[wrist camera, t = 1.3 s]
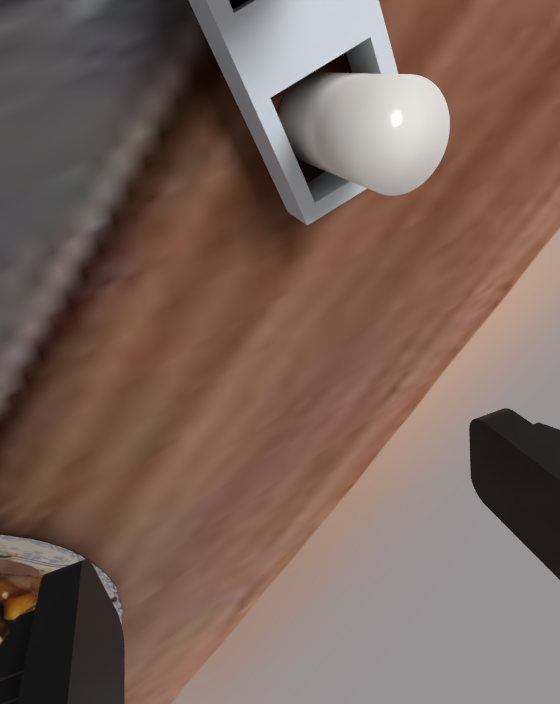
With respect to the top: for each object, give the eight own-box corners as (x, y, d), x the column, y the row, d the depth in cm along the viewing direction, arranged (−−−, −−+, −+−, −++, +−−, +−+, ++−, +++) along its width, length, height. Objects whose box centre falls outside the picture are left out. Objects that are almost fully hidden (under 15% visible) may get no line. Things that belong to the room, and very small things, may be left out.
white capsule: (263, 99, 29) (335, 112, 21) (336, 55, 30) (435, 51, 21) (297, 178, 32) (372, 215, 24) (363, 137, 33) (459, 161, 24)
